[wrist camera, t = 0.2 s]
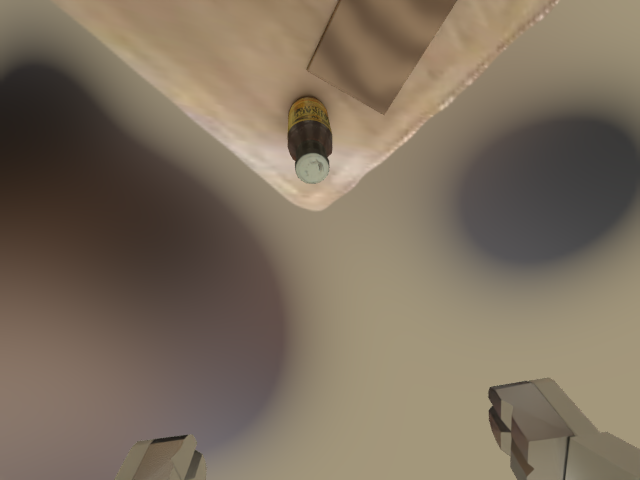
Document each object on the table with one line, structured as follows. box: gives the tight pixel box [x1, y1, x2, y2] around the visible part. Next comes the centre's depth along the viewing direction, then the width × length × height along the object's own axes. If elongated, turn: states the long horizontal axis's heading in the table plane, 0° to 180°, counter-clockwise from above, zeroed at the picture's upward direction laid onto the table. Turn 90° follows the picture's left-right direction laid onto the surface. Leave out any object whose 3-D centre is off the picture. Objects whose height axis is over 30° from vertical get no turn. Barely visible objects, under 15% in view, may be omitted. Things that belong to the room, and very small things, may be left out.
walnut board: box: [307, 0, 457, 115], centre depth 48 cm, size 20×14×2 cm
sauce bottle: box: [288, 97, 332, 184], centre depth 47 cm, size 7×6×20 cm
